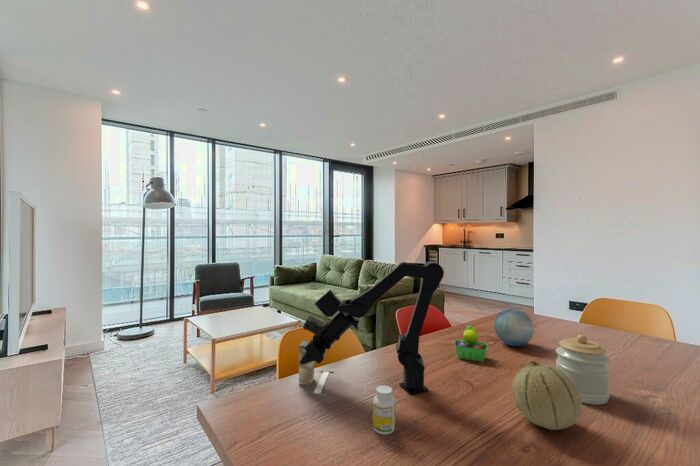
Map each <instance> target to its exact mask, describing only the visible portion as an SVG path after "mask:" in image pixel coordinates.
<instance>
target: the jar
mask: <svg viewBox="0 0 700 466" xmlns="http://www.w3.org/2000/svg"><path fill="white" fill-rule="evenodd" d="M558 345H559V346H558V347H556V348H555V352H556V354H557V358H556V359H555V365H556V366H555V367H556V368H558V369H560V370H561V371H563V372H564V373H565V374H566V375H567V376H568V377H569V378H570V379H571V380H572V382H573V383H574V385H575V386H576V388H577V390H578V391H579V394H580V397H581V401H582V404H587V405H594V406H595V405H596V406H597V405H598V406H601V405H605V404H608V402H609V399H610V373H611V371H610V369H609V367H608V364H609V363H610V362H611V359H610V357H609V356H607V355H606V353H607V350H606V349H605V348H604V347H603V346H601V345H600V343H598V342H596V341H593V340H590V339H588V337H587V336H586V335H585V334H578V335H577V336H576V337H566V338H565V339H562V340H560V341H559V342H558Z"/></svg>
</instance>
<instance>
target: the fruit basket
mask: <svg viewBox="0 0 700 466" xmlns="http://www.w3.org/2000/svg"><path fill="white" fill-rule="evenodd" d="M478 340H479V336H478V333H477V329H476V328H475V327H474V326H473V325H467V326H466V328H465V331H464V332H463V340H462V339H456V340H455V342H454V348H455V351H456V355H457V359H461V360H467V361H469V360H470V361H474V362H482V363H484V361H485V358H486V355H487V353H488V343H486V342H482V341H481V342H479V341H478Z"/></svg>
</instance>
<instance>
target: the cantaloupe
mask: <svg viewBox="0 0 700 466" xmlns="http://www.w3.org/2000/svg"><path fill="white" fill-rule="evenodd" d="M511 385H512V394H513V395H512V396H513V399H514V402H515V405H516V407H517V408H518V410H519V412H520V414H521V415H522V416H524V418H526V419H527V420H528V421H529V422H531V423H532V424H534V425H536V426H538V427H541V428H544V429H547V430H549V431H551V430H552V431H555V430H556V431H557V430H563V429H566V428H570V427H572V426H573V425H575V424H576V423H577V422H578V421H579V419H580V418H581V414H582V411H583V403H582V401H581V397H580V394H579V391H578V390H577V388H576V386H575V385H574V383H573V382H572V380H571V379H570V378H569V377H568V376H567V375H566V374H565V373H564V372H563V371H561V370H560V369H558V368H556V366H553V365H551V364H550V365H549V364H543V363H539V362H537V361H534V360H532V361H530V365H527V366H526V365H525V366H524V367H523V368H522V367H521V369H519V370H518V372H517V373H516V374H515V376H514V378H513V380H512V384H511Z"/></svg>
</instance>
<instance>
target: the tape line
mask: <svg viewBox="0 0 700 466" xmlns="http://www.w3.org/2000/svg"><path fill="white" fill-rule="evenodd" d="M319 372H320V373H322V374H321V376H320V379H319V381H318V382H317V385H316V387H315V388H314V389H315V390H314V391H313V392H309V393H308V394H309V396H318V397H319V396H321V397H324V395H325V393H322V391H323V388H324V387H325V383H326V381H327V379H328V377H329V375H330V373H331V374H333V373H334V370H322V369H321V370H320V371H319Z"/></svg>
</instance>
